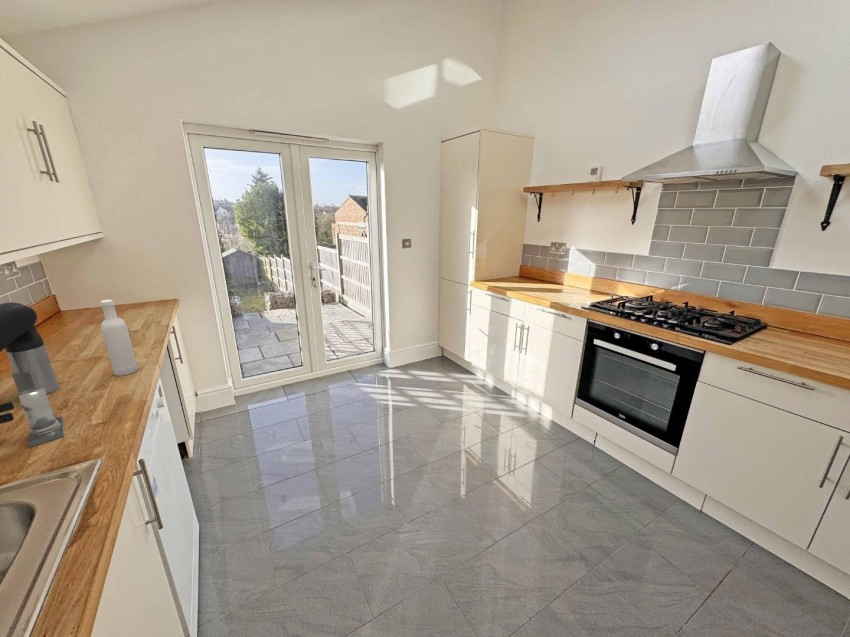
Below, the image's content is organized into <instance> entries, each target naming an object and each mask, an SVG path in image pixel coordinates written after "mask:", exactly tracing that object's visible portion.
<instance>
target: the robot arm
mask: <svg viewBox="0 0 850 637" xmlns="http://www.w3.org/2000/svg"><path fill="white" fill-rule="evenodd" d="M37 321H38V314H37V312H36V310H34V309H33V308H32V307H30V306H28V305H24V304H21V303H19V302H9V301H8V302H4V303H0V353H1V352H2V351H3V350H4V349H5V352H6V355H7V357H8V360H9V363H10V365H11V367H12V370H13V373H11V376H12V378H13V381H14V384H15V386H16V390H17V391H18V392H17V393H18V395H19V394H20V393H22V392H24V391H27V390H30V389H34V388H44V389H45V392H46V395H48V394H51V393H53V392H55V391H57V390H58V389H59V388H60V384H59V382H58V380H57V376H56V374H55V371H54V367H53V366H52V363H51V360H50V356H49V353H48V351H47V349H46V345H45V342H44V340H43V337H42V336H41V335H40V333H39V332H38V330H37V328H36V325H35V324H36V322H37ZM14 409H15V406H14V403H13V402H12V401H8V402H4V403H0V425H2V424H5V423H9V422H12V421H14V419H15V417H14V415H13V412H9V411H12V410H14ZM6 412H7V413H6ZM1 413H4V414H1Z"/></svg>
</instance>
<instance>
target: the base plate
mask: <svg viewBox="0 0 850 637" xmlns="http://www.w3.org/2000/svg"><path fill="white" fill-rule="evenodd" d="M55 419H57V420H58V422H59V426H58V427H56V428H55V429H53V430H51V431H48V432H45V433H41V434H31V433H30V430H28V437H27V445H28V447H29V448H31V447H35V446H38V445H41V444H45V443H47V442H51V441H54V440H57V439H60V438H63V437H65V430H64V429H65V427H64V426H65V425H64V421H65V420H64V418H63V415H62V416H57V417H55Z"/></svg>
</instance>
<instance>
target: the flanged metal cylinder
mask: <svg viewBox="0 0 850 637" xmlns="http://www.w3.org/2000/svg"><path fill="white" fill-rule="evenodd" d="M17 396H18V399H19V401H20V403H21V406H22V408H23V409H22V410H23V411H24V414H25V417H26V418H27V422H28V424H29V428H28V429H29V430H30V433H31V434H41V433H45V432H48V431H51V430H53V429H55V428H56V427H58V426H59V422H58V420H57V419H55V418H56V416H55V414H54V411H53V409H52V406H51V403H50V400H49V397H48V394H46V392H45V389H44V388H34V389H30V390H27V391H24V392H22V393H20V394H19V393H18V395H17ZM29 430H28V431H29Z"/></svg>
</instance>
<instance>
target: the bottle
mask: <svg viewBox="0 0 850 637" xmlns="http://www.w3.org/2000/svg"><path fill="white" fill-rule="evenodd" d="M100 307H101V309H102V312H103V316H104V319H103V320H102V322H101V326H100V331H101V334H102V338H103V342H104V345H105V348H106V351H107V355H108V358H109V361H110V364H111V370H112V372H113V374H114V376H117V377H120V376H121V377H124V376H128V375H131V374H134V373H136V372H137V371H138V370H139V366H138V362H137V359H136V356H135V352H134V348H133V345H132V341H131V337H130V333H129V330H128V326H127V324H126V322H125V321H124V319H122V318H121V317H119V316H117V311H116V307H115V302H114V301H113V299H104V300H100Z"/></svg>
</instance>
